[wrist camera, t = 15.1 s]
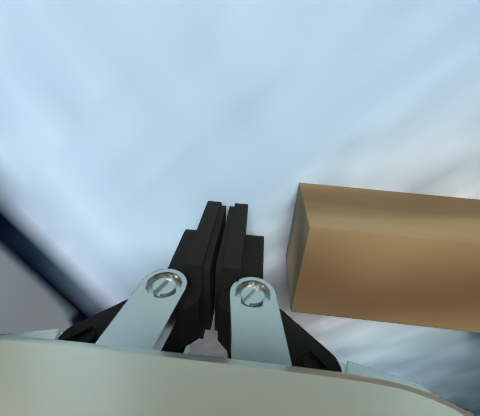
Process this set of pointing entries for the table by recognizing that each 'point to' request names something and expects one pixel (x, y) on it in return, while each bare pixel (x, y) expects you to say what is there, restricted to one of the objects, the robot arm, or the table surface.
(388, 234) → the walnut batten
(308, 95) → the table surface
